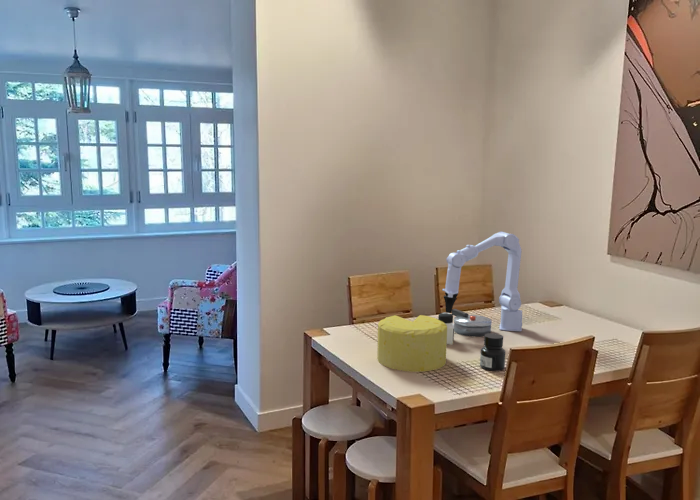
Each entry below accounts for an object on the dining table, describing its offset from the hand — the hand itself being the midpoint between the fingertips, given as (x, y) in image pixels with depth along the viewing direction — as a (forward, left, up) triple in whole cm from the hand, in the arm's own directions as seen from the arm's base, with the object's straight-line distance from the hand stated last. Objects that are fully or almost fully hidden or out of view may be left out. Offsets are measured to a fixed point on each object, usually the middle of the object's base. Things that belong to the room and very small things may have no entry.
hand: (448, 310), depth 263 cm
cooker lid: (-8, -7, -6) cm, 12 cm away
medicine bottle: (+1, +13, -10) cm, 17 cm away
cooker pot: (-10, -7, -10) cm, 16 cm away
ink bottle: (-18, +40, -10) cm, 46 cm away
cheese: (+12, +39, -10) cm, 42 cm away
